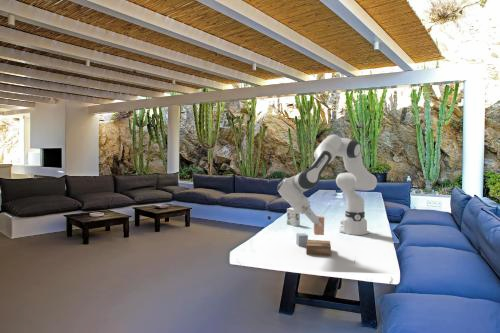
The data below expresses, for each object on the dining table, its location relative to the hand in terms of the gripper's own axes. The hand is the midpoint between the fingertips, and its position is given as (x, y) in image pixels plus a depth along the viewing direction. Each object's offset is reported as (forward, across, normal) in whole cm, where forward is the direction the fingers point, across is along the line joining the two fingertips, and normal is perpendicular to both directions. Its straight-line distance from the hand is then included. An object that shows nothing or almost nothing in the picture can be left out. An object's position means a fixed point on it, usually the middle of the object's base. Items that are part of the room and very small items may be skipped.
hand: (320, 224), depth 177 cm
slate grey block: (+5, +13, +16) cm, 21 cm away
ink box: (+5, +66, +16) cm, 68 cm away
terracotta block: (+3, 0, +4) cm, 5 cm away
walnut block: (+10, 0, +11) cm, 15 cm away
